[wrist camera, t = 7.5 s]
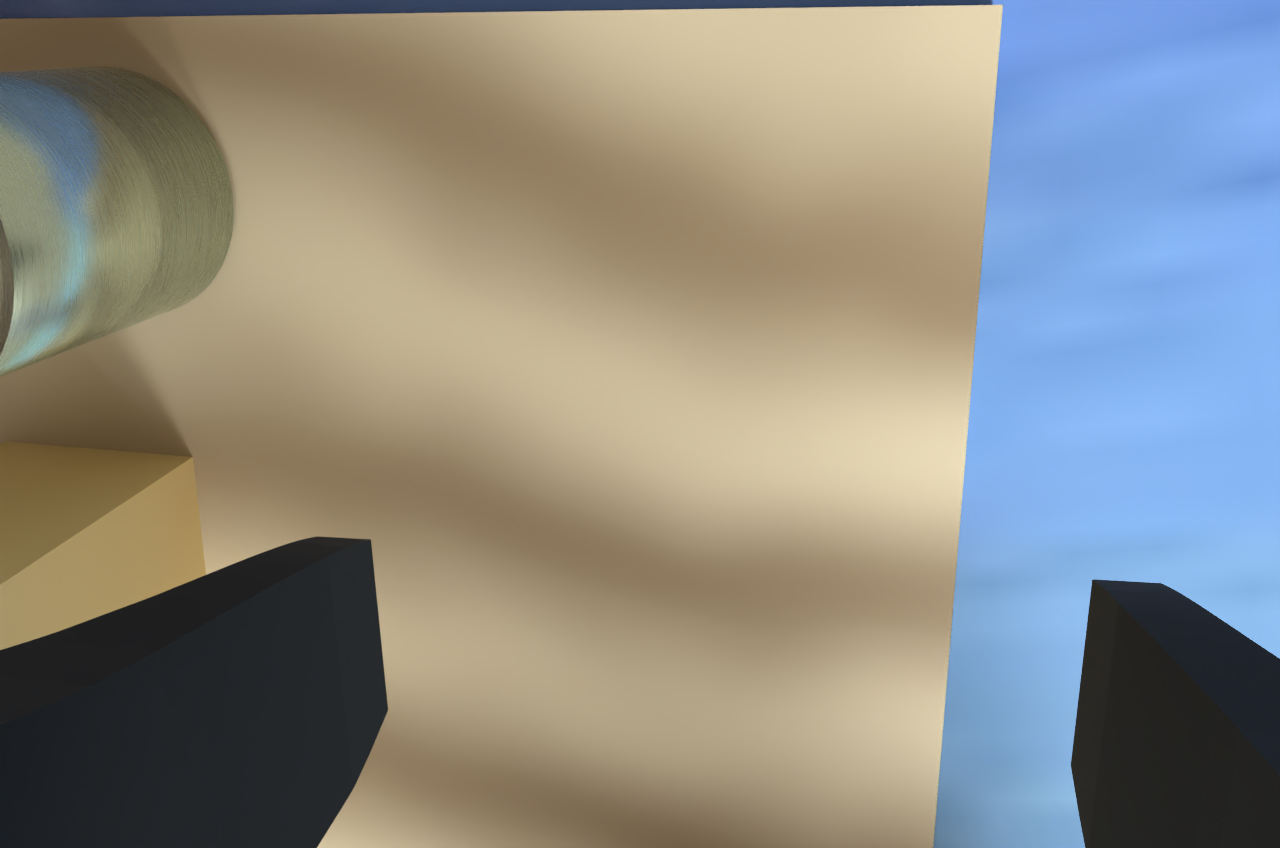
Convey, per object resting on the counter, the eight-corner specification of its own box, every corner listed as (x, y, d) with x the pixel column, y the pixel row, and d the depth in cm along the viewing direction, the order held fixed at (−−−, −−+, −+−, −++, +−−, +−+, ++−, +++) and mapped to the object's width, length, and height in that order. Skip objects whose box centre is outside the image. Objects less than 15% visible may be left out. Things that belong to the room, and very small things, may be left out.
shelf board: (920, 915, 25) (931, 1055, 21) (-20, 812, 28) (-137, 919, 25) (994, 5, 19) (1024, 3, 16) (-201, 22, 23) (-385, 23, 19)
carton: (222, 724, 25) (39, 931, 19) (48, 703, 25) (-180, 896, 20) (193, 456, 23) (-22, 599, 17) (3, 441, 23) (-264, 574, 18)
